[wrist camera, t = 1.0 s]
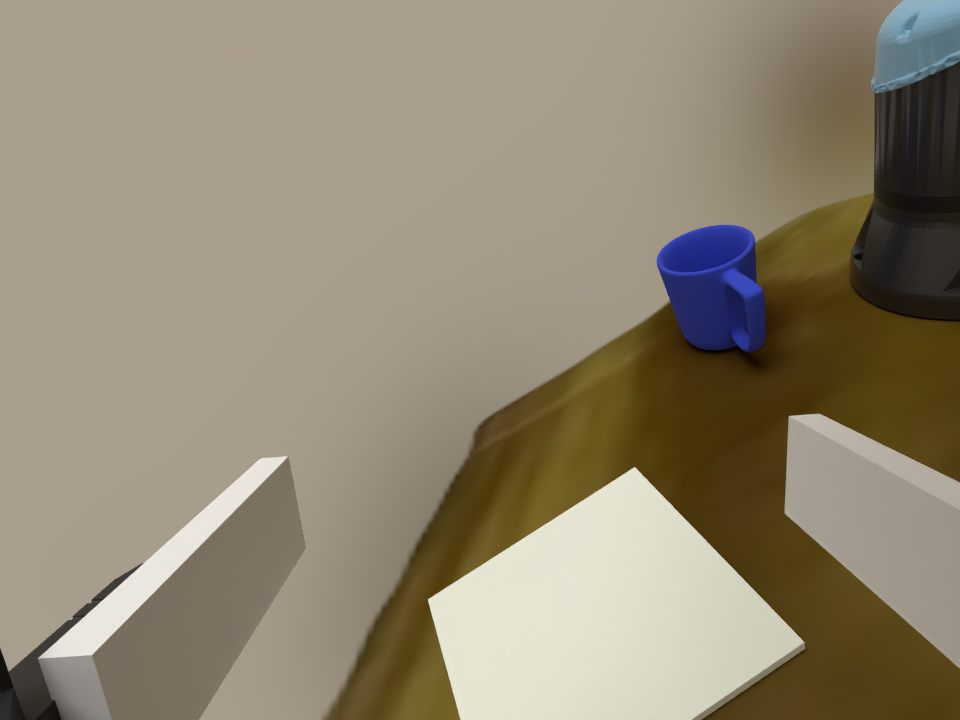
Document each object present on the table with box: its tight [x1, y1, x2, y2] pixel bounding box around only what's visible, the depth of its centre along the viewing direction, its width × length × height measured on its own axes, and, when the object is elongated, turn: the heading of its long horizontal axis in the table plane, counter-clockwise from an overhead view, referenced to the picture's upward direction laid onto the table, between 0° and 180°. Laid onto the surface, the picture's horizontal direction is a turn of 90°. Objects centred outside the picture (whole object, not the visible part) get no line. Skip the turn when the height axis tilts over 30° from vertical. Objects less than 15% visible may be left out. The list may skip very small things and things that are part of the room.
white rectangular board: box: [428, 468, 805, 720], centre depth 34 cm, size 20×16×1 cm
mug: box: [657, 225, 766, 352], centre depth 46 cm, size 8×12×10 cm
